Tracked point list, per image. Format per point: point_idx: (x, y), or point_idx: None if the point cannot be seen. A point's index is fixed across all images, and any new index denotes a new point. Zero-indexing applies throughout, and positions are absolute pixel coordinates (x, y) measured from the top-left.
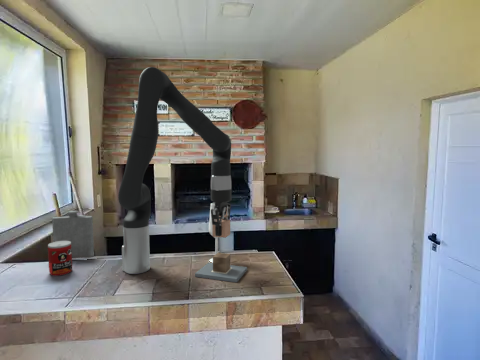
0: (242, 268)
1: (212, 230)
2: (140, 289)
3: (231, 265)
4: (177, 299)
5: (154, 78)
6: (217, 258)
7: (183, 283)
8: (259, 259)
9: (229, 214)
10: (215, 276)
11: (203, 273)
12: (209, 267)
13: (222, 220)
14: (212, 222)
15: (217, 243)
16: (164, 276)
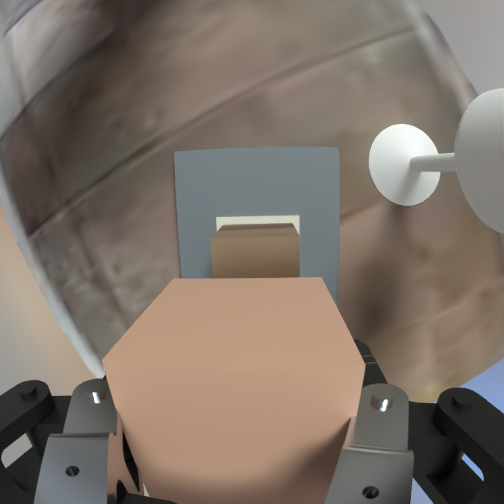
0: None
1: (465, 142)
2: (36, 57)
3: (334, 277)
4: (16, 206)
5: None
6: (213, 268)
7: (104, 148)
8: (455, 341)
9: (454, 500)
10: (180, 257)
11: (187, 190)
12: (271, 181)
13: (258, 464)
14: (3, 399)
15: (450, 169)
16: (141, 38)
